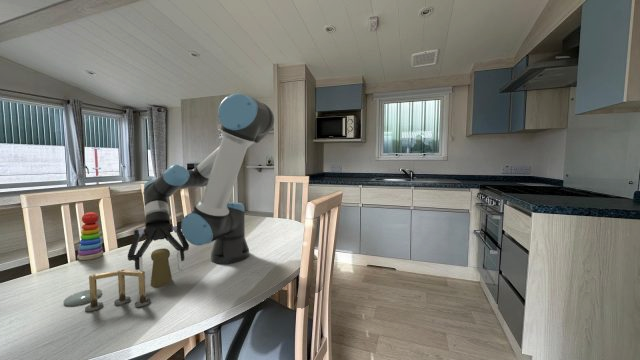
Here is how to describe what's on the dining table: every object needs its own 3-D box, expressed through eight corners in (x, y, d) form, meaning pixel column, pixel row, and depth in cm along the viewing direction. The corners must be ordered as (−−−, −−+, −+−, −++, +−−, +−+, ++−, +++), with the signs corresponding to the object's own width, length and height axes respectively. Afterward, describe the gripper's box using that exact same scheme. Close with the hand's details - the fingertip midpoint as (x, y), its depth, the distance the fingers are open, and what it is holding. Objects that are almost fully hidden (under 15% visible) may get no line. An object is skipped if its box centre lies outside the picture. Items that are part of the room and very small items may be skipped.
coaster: (104, 288, 76) (104, 286, 76) (98, 300, 70) (98, 298, 70) (69, 295, 72) (69, 293, 72) (58, 309, 66) (58, 307, 66)
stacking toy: (87, 261, 97) (85, 214, 96) (72, 260, 99) (69, 213, 97) (108, 254, 105) (106, 211, 104) (93, 253, 106) (91, 210, 105)
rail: (152, 292, 74) (151, 263, 74) (150, 305, 68) (148, 273, 67) (87, 306, 67) (85, 274, 66) (78, 322, 60) (75, 286, 60)
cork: (176, 280, 82) (175, 248, 81) (158, 288, 77) (156, 254, 76) (164, 276, 85) (163, 245, 84) (146, 284, 79) (144, 251, 79)
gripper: (190, 218, 99) (199, 270, 87) (118, 226, 85) (117, 289, 74) (192, 207, 94) (201, 260, 82) (116, 213, 81) (114, 278, 69)
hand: (161, 274), depth 78 cm, fingers open, 10 cm apart
